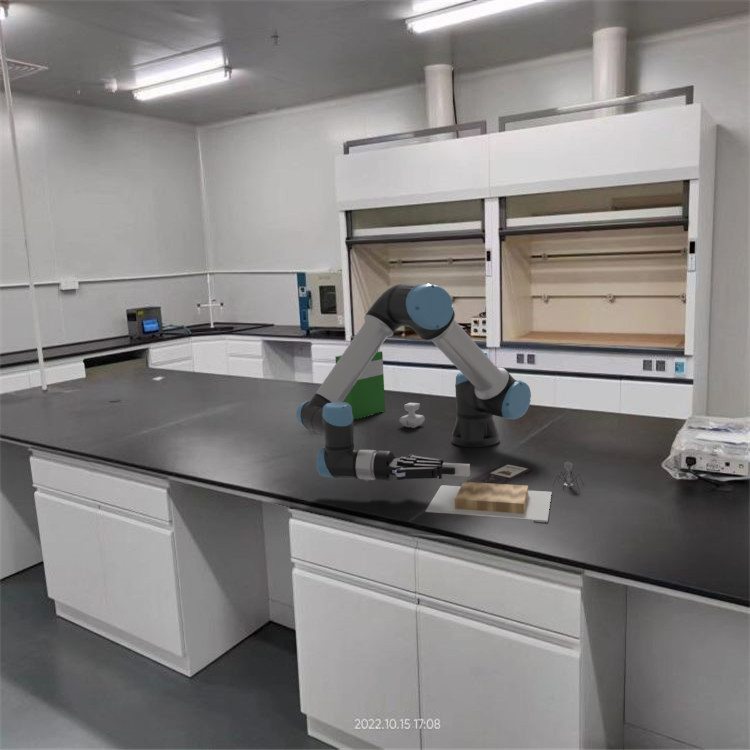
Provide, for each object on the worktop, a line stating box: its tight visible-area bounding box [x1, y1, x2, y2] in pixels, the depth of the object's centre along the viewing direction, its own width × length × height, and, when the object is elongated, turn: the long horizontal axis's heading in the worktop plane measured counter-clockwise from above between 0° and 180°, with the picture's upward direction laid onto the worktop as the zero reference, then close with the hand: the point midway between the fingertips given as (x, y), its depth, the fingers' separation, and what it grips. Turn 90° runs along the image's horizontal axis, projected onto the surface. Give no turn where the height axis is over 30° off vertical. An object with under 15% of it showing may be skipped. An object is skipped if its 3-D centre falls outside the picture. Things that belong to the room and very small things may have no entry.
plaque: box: [455, 481, 529, 514], centre depth 156 cm, size 12×2×16 cm
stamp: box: [399, 402, 426, 429], centre depth 230 cm, size 9×7×8 cm
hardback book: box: [335, 350, 386, 421], centre depth 250 cm, size 18×7×24 cm, turn 134°
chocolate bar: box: [466, 463, 533, 484], centre depth 175 cm, size 9×1×18 cm
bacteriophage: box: [552, 461, 585, 491], centre depth 165 cm, size 7×8×7 cm
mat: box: [424, 484, 553, 523], centre depth 157 cm, size 18×28×1 cm, turn 72°
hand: (469, 470), depth 156 cm, fingers closed
